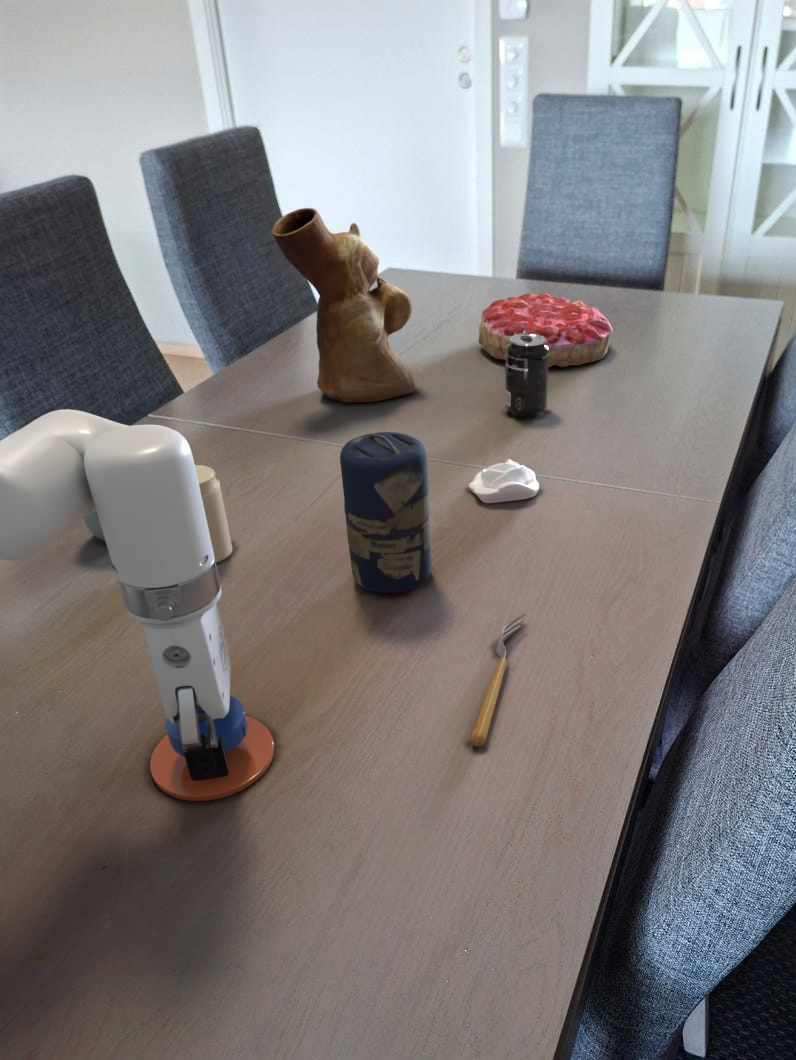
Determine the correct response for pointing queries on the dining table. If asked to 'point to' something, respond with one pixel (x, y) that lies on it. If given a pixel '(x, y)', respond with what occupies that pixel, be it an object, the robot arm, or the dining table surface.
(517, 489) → the rose
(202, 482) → the jam jar
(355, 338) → the ceramic vessel
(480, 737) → the fork
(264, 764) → the coaster
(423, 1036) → the dining table surface
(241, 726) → the jam lid
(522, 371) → the beverage can
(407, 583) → the canister
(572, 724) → the dining table surface
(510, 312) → the cake
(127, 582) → the robot arm
